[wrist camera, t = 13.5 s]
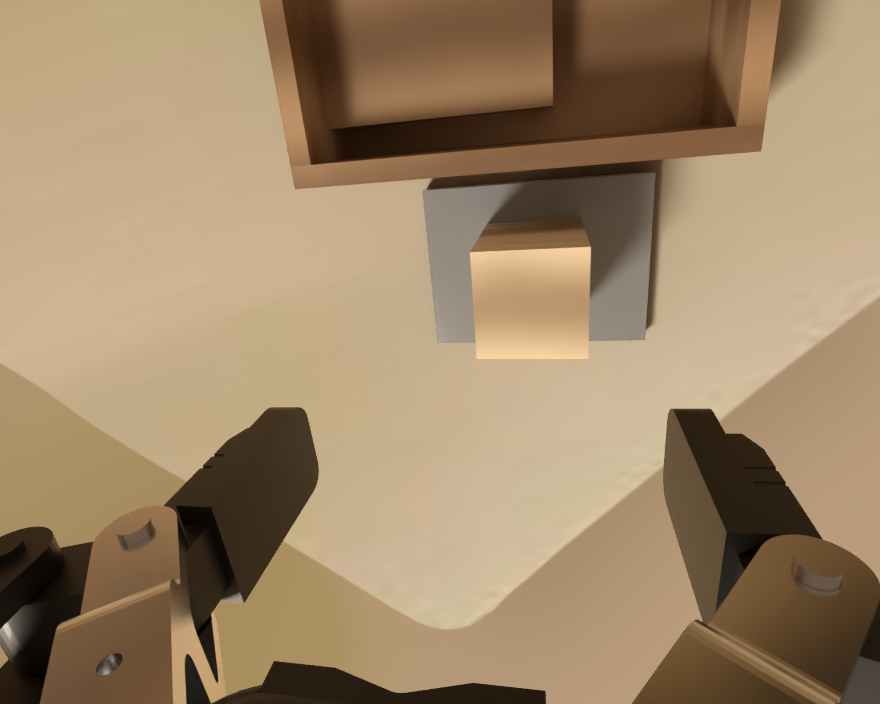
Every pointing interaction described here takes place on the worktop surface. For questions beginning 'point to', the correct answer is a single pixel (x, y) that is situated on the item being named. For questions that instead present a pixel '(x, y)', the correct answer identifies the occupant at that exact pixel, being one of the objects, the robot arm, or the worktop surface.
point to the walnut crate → (514, 83)
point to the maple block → (531, 290)
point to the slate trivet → (588, 198)
